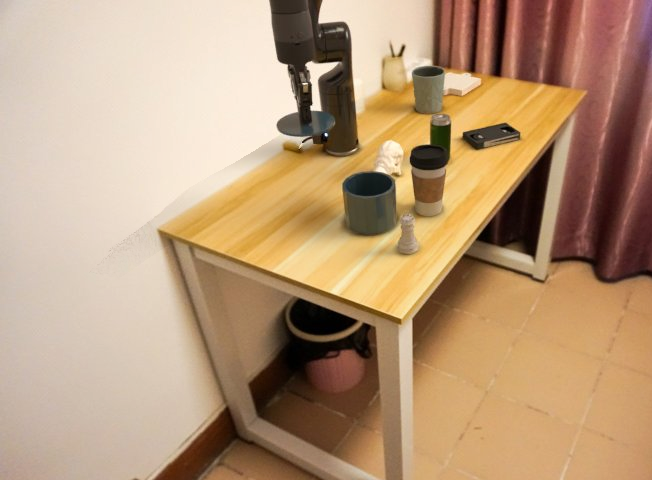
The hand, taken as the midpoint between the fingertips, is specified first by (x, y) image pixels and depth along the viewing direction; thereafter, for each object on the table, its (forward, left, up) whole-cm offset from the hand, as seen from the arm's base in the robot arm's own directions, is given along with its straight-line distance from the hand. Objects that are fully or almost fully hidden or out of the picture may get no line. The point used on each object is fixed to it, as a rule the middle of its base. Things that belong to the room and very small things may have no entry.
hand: (305, 119), depth 114 cm
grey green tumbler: (+11, +62, -22) cm, 67 cm away
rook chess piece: (+26, -11, -22) cm, 35 cm away
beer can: (+23, +29, -22) cm, 43 cm away
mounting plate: (+15, +83, -22) cm, 87 cm away
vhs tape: (+34, +45, -22) cm, 60 cm away
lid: (0, 0, -1) cm, 1 cm away
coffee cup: (+26, +5, -22) cm, 34 cm away
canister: (+15, -3, -21) cm, 26 cm away
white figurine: (+12, +16, -22) cm, 29 cm away
